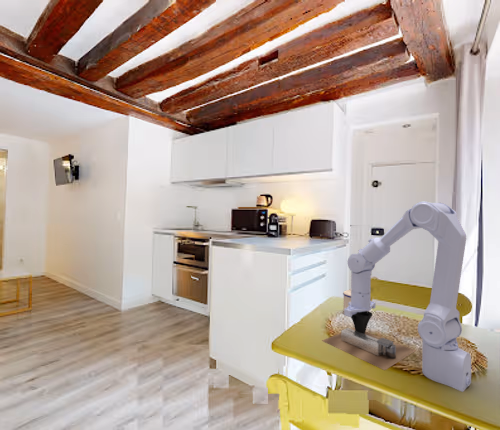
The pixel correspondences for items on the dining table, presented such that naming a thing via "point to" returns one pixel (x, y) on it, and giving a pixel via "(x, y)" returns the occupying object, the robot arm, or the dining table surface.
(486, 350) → the dining table surface
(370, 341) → the arm
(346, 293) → the teacup with lid
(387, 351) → the bar
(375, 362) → the walnut board
